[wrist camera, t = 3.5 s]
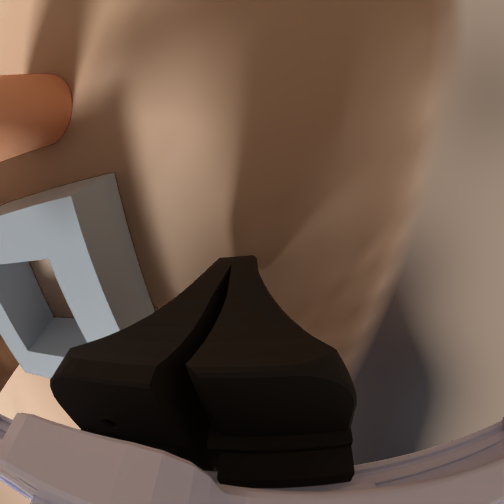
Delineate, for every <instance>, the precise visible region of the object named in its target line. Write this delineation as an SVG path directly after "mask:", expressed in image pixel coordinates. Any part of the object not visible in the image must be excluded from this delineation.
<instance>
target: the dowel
mask: <svg viewBox="0 0 504 504" xmlns="http://www.w3.org/2000/svg"><path fill="white" fill-rule="evenodd" d="M71 113H72V97H71V92H70V89H69V87H68V85H67V83H66V82H65V81H64V80H63V79H62V78H61V77H59V76H58V75H54V74H19V75H0V162H2V161H4V160H7V159H10V158H12V157H15V156H18V155H21V154H24V153H27V152H30V151H33V150H36V149H39V148H42V147H45V146H49V145H51V144H53V143H55V142H56V141H57V140H59V139H60V137H61V136H62V135H63V134H64V132H65V130H66V128H67V126H68V124H69V121H70V118H71Z"/></svg>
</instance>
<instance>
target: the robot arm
mask: <svg viewBox="0 0 504 504" xmlns="http://www.w3.org/2000/svg"><path fill="white" fill-rule="evenodd" d="M50 387H51V390H52V392H53V395H54V397H55V398H56V400H57V401H58V403H59V404H60V405H61V407H62V408H63V409H64V410H65V411H66V413H67V414H68V415H69V416H70V417H71V418H72V420H73V421H74V422H75V423H76V424H77V425H78V426H79V427H80V428H81V430H79V429H75V428H72V427H69V426H65V425H62V424H59V423H56V422H53V421H50V420H47V419H44V418H41V417H39V416H36V415H32V414H26V413H17V414H16V416H15V417H14V419H13V420H11V419H9V418H7V417H5V416H3V415H1V414H0V480H1V481H2V482H4V483H5V484H7V485H8V486H10V487H11V488H13V489H14V490H16V491H17V492H19V493H20V494H22V495H24V496H25V497H27V498H28V499H30V500H32V501H31V503H30V504H503V503H504V417H503V419H502V421H500V422H498V423H496V424H494V425H491V426H489V427H487V428H484V429H482V430H480V431H477V432H475V433H472V434H470V435H467V436H464V437H462V438H459V439H456V440H453V441H450V442H448V443H445V444H442V445H438V446H436V447H432V448H429V449H425V450H422V451H418V452H415V453H411V454H407V455H403V456H399V457H395V458H391V459H386V460H381V461H376V462H371V463H366V464H360V465H354V463H353V456H352V449H351V445H352V440H353V439H352V432H351V424H352V420H353V416H354V412H355V408H356V402H357V400H356V391H355V388H354V385H353V382H352V379H351V377H350V375H349V372H348V370H347V368H346V366H345V364H344V362H343V361H342V359H341V357H340V355H339V354H338V352H337V350H336V349H334V348H333V347H331V346H329V345H327V344H325V343H324V342H322V341H320V340H318V339H316V338H315V337H313V336H311V335H310V334H309V333H307V332H306V331H304V330H303V329H302V328H301V327H300V326H299V325H298V324H296V323H295V322H294V321H293V320H292V319H291V318H290V317H289V316H288V315H287V314H286V313H285V312H284V311H283V310H282V309H281V308H280V306H279V305H278V304H277V303H276V301H275V300H274V299H273V297H272V296H271V294H270V293H269V291H268V290H267V288H266V286H265V285H264V283H263V281H262V279H261V277H260V274H259V272H258V266H257V258H256V257H254V256H241V257H228V258H219V259H218V260H217V261H216V262H215V263H214V264H213V265H212V266H210V267H209V268H208V269H207V270H206V271H205V272H204V273H203V274H202V275H201V276H200V277H199V278H198V279H197V280H196V281H195V282H194V283H192V284H191V285H190V286H189V287H188V288H186V289H185V290H184V291H183V292H182V293H180V294H179V295H178V296H177V297H176V298H174V299H173V300H172V301H170V302H169V303H168V304H166V305H165V306H163V307H162V308H160V309H159V310H157V311H156V312H154V313H152V314H151V315H149V316H147V317H145V318H143V319H142V320H140V321H138V322H136V323H134V324H133V325H131V326H129V327H127V328H124V329H122V330H120V331H118V332H115V333H113V334H111V335H108V336H106V337H103V338H100V339H98V340H95V341H91V342H88V343H85V344H82V345H79V346H75V347H72V348H70V349H69V351H68V352H67V354H66V355H65V357H64V358H63V360H62V362H61V363H60V365H59V366H58V368H57V370H56V371H55V373H54V374H53V376H52V378H51V379H50Z"/></svg>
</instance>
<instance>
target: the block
mask: <svg viewBox="0 0 504 504" xmlns="http://www.w3.org/2000/svg"><path fill="white" fill-rule="evenodd" d="M44 259H49V261H50V264H51V266H52V269H53V271H54V274H55V276H56V279H57V281H58V283H59V286H60V288H61V290H62V292H63V295H64V297H65V299H66V301H67V303H68V305H69V308H70V310H71V312H72V314H73V316H74V318H61V317H54V316H53V314H52V312H51V310H50V308H49V306H48V304H47V302H46V300H45V298H44V296H43V293H42V291H41V289H40V287H39V285H38V282H37V280H36V278H35V276H34V273H33V271H32V268H31V266H30V263H29V261H35V260H44ZM154 312H155V310H154V308H153V305H152V302H151V299H150V296H149V293H148V290H147V288H146V285H145V282H144V279H143V275H142V272H141V269H140V266H139V263H138V260H137V256H136V253H135V250H134V246H133V243H132V240H131V236H130V233H129V229H128V225H127V222H126V218H125V214H124V211H123V207H122V203H121V199H120V195H119V191H118V186H117V182H116V178H115V173H110V174H106V175H102V176H97V177H93V178H89V179H86V180H82V181H78V182H74V183H70V184H67V185H63V186H60V187H56V188H53V189H49V190H46V191H43V192H40V193H36V194H33V195H30V196H27V197H24V198H21V199H18V200H15V201H12V202H9V203H6V204H3V205H0V335H1V336H2V338H3V339H4V341H5V343H6V344H7V346H8V347H9V349H10V351H11V352H12V354H13V355H14V357H15V358H16V360H17V361H18V363H19V364H20V366H21V367H22V368H23V370H24V371H25V372H26V373H30V374H34V375H38V376H42V377H46V378H52V376H53V374H54V373H55V371H56V370H57V368H58V366H59V365H60V363H61V362H62V360H63V358H64V357H65V355H66V354H67V352H68V351H69V349H70V348H72V347H75V346H79V345H82V344H85V343H88V342H91V341H95V340H98V339H100V338H103V337H106V336H108V335H111V334H113V333H115V332H118V331H120V330H122V329H124V328H127V327H129V326H131V325H133V324H134V323H136V322H138V321H140V320H142V319H143V318H145V317H147V316H149V315H151V314H152V313H154Z"/></svg>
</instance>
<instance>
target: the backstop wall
mask: <svg viewBox="0 0 504 504" xmlns="http://www.w3.org/2000/svg"><path fill="white" fill-rule="evenodd" d="M18 365H19V363H18V361H17V360H16V358H15V357H14V355H13V354H12V352H11V351H10V349H9V347H8V346H7V344H6V343H5V341H4V339H3V338H2V336H1V335H0V392H1V390H2V389H3V387H4V386H5V384H6V383H7V381H8V380H9V378H10V377H11V375H12V374H13V372H14V371H15V369H16V368H17V367H18Z"/></svg>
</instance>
